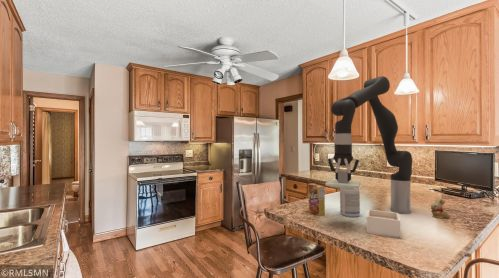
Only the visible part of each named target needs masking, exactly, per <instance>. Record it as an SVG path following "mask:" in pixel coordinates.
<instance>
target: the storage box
mask: <svg viewBox="0 0 499 278" xmlns="http://www.w3.org/2000/svg"><path fill="white" fill-rule="evenodd" d="M366 234H369V235H375V236H376V235H377V236H381V237H388V238H394V239H401V234H402V233H401V219H400V213H397V212H393V211H385V210H374V209H367V213H366Z"/></svg>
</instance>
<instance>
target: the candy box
mask: <svg viewBox="0 0 499 278" xmlns="http://www.w3.org/2000/svg"><path fill="white" fill-rule="evenodd" d="M307 185H308V186H307V187H308V213H309V212H310V213H312V214H314V215H317V216H318V217H321V216H325V215H326V213H325V212H326V209H325V208H326V207H325V205H326V204H325V203H326V202H325V200H326V198H325V195H326V194H325V193H326V191H325V189H326V188H325V185H321V184H317V183H308V184H307Z"/></svg>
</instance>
